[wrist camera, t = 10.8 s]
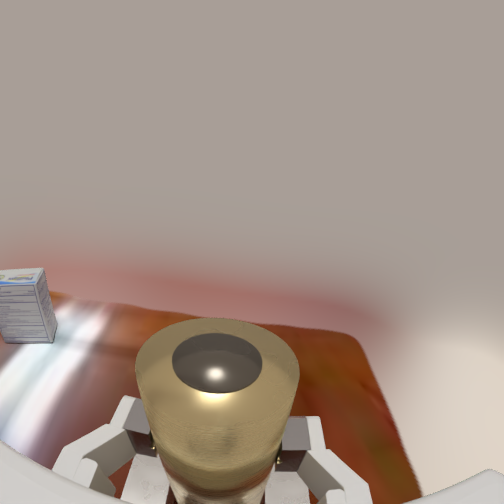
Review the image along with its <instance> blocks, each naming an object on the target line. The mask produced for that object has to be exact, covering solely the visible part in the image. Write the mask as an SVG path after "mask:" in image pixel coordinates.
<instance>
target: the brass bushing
mask: <svg viewBox="0 0 504 504" xmlns="http://www.w3.org/2000/svg"><path fill="white" fill-rule="evenodd" d="M135 373H136V378H137V383H138V387H139V391H140V395H141V398H142V402H143V406H144V410H145V413H146V417H147V420H148V423H149V427H150V430H151V433H152V436H153V439H154V442H155V445H156V448H157V451H158V454H159V457H160V460H161V463H162V465H163V468H164V471H165V473H166V476H167V478H168V481H169V483H170V486H171V488H172V491H173V493H174V495H175V498H176V500H177V502H178V504H260V501H261V499H262V496H263V493H264V491H265V488H266V485H267V482H268V480H269V477H270V474H271V471H272V468H273V465H274V462H275V459H276V456H277V453H278V450H279V447H280V444H281V441H282V437H283V434H284V431H285V428H286V424H287V421H288V418H289V414H290V411H291V407H292V404H293V400H294V396H295V393H296V389H297V385H298V381H299V365H298V361H297V359H296V357H295V354H294V353H293V351H292V350H291V348H290V347H289V346H288V345H287V344H286V343H285V342H284V341H283V340H282V339H280V338H279V337H278V336H276V335H275V334H273V333H271V332H270V331H268V330H266V329H264V328H261V327H259V326H256V325H253V324H251V323H247V322H243V321H238V320H233V319H225V318H201V319H193V320H187V321H183V322H179V323H176V324H173V325H170V326H168V327H166V328H164V329H162V330H160V331H158V332H157V333H155V334H154V335H153V336H151V337H150V338H149V339H148V340H147V341H146V342H145V343H144V344H143V346H142V347H141V349H140V350H139V353H138V355H137V358H136V363H135Z"/></svg>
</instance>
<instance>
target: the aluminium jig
mask: <svg viewBox="0 0 504 504" xmlns="http://www.w3.org/2000/svg"><path fill="white" fill-rule="evenodd" d="M120 500H123V501H127V502H130V503H133V504H174V500H175V495H174V493H173V491H172V488H171V486H170V483H169V481H168V478H167V476H166V473H165V471H164V468H163V465H162V463H161V460H160V457H159V454H158V455H157V458H155V457H150V456H145V455H141V454H137V453H136V455H135V456H134V459H133V462H132V465H131V468H130V471H129V474H128V477H127V480H126V483H125V486H124V490H123V493H122V496H121V499H120ZM260 504H310V501H309V491H308V487H307V485H306V484H305V483H304V482H303V480H302V479H301V478H300V477H299V475H298V474H297V472H275V463H274V465H273V468H272V471H271V474H270V477H269V480H268V482H267V485H266V488H265V491H264V493H263V496H262V499H261V501H260Z"/></svg>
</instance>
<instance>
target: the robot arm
mask: <svg viewBox="0 0 504 504" xmlns="http://www.w3.org/2000/svg"><path fill="white" fill-rule="evenodd" d="M136 453H137V454H141V455H145V456H150V457H155V458H157V455H158V451H157V448H156V445H155V442H154V439H153V436H152V433H151V430H150V427H149V423H148V420H147V417H146V413H145V410H144V406H143V402H142V399H138V398H134V397H130V396H126V395H125V396H124V397H123V398H122V399H121V401H120V404H119V406H118V408H117V410H116V412H115V414H114V416H113V418H112V420H111V422H110V424H105V425H103V426H101V427H100V428H98V429H96V430H94V431H93V432H91V433H89V434H87V435H85V436H84V437H82V438H80V439H78V440H76V441H74V442H73V443H71V444H69V445H67V446H65V447H63V449H62V451H61V453H60V455H59V457H58V459H57V461H56V463H55V465H54V467H53V469H52V471H51V470H49V469H47V468H45V467H43V466H42V465H40V464H38V463H36V462H34V461H33V460H31V459H29V458H28V457H26V456H24V455H23V454H21V453H19V452H18V451H16V450H15V449H13V448H12V447H10V446H9V445H7V444H6V443H4V442H3V441H1V440H0V504H133V503H130V502H127V501H123V500H120V499H117V498H114V494H115V491H116V488H115V487H114V485H113V484H112V483H111V481H110V480H109V479H108V478H107V477H109V476H110V475H111V474H113V473H114V472H115V471H116V470H118V469H119V468H120V467H122V466H123V465H124V464H125V463H127V462H128V461H129V460H130V459H132V458H133V457H134V456H135V455H136ZM274 463H275V472H297V474H298V475H299V477H300V478H301V479H302V480H303V482H304V483H305V484H306V485H307V487H308V488H309V489H310V490H311V492H312V493H313V494H314V495H315V496H316V498H317V499H318V500H319V502H318V503H317V504H373V503H372V499H371V495H370V491H369V487H368V484H367V483H366V482H365V481H364V480H363V479H362V478H360V477H359V476H358V475H357V474H356V473H355V472H354V471H352V470H351V469H350V468H349V467H348V466H347V465H346V464H345V463H344V462H343V461H341V460H340V459H339V458H338V457H337V456H336V455H335V454H334V453H333V452H332V451H331V450H330V449H326V448H325V442H324V437H323V432H322V426H321V421H320V418H319V416H308V417H305V416H289V418H288V421H287V424H286V428H285V431H284V434H283V437H282V441H281V444H280V447H279V450H278V453H277V456H276V459H275V462H274ZM403 504H504V475H503V474H501V473H499V472H497V471H495V470H492V469H487V470H484V471H482V472H480V473H478V474H476V475H474V476H472V477H470V478H468V479H466V480H464V481H461V482H459V483H457V484H455V485H453V486H450V487H448V488H445V489H443V490H441V491H438V492H435V493H433V494H430V495H427V496H424V497H422V498H419V499H416V500H413V501H410V502H406V503H403Z"/></svg>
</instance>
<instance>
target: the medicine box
mask: <svg viewBox="0 0 504 504" xmlns="http://www.w3.org/2000/svg"><path fill="white" fill-rule="evenodd" d="M56 327H57V321H56V317H55V314H54V310H53V307H52V303H51V299H50V294H49V290H48V286H47V281H46V276H45V271H44V269H43V268H29V269H13V270H0V331H1V333H2V336H3V338H4V341H5V343H48V342H50V343H52V342H53V338H54V334H55V331H56Z"/></svg>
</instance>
